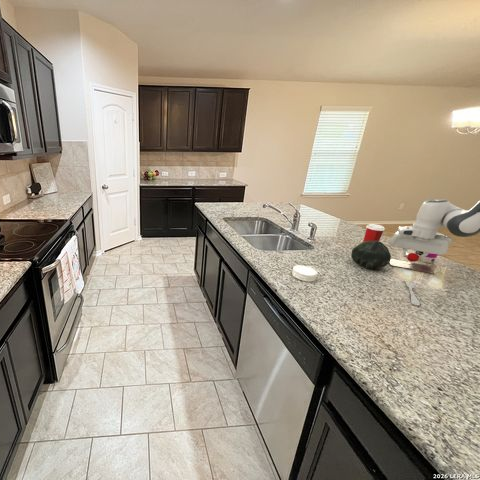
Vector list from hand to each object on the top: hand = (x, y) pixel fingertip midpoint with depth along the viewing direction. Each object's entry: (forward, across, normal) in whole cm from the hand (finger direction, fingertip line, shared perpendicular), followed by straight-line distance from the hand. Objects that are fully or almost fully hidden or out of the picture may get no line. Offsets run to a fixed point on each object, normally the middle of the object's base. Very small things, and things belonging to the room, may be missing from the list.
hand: (412, 258), depth 127 cm
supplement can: (+5, -8, -14) cm, 17 cm away
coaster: (+5, +44, +43) cm, 62 cm away
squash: (+5, +18, +12) cm, 22 cm away
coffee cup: (+5, +16, -13) cm, 21 cm away
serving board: (+4, 0, 0) cm, 4 cm away
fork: (+4, +5, +33) cm, 34 cm away
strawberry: (0, 0, 0) cm, 0 cm away
